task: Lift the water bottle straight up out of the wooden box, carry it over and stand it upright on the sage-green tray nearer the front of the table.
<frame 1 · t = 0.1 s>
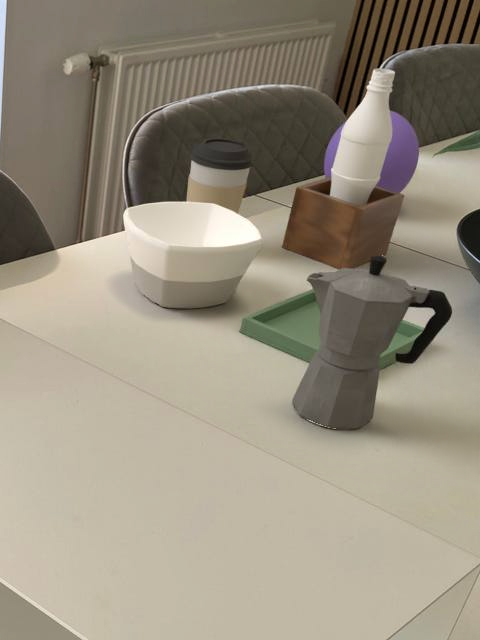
wooden box: (333, 251, 155), on the table
decorative ball: (357, 206, 173), on the table
bowl: (179, 292, 140), on the table
coffee cup: (204, 247, 153), on the table
water bottle: (333, 252, 155), resting in wooden box
tray: (333, 338, 131), on the table
coffeepot: (340, 414, 115), on the table
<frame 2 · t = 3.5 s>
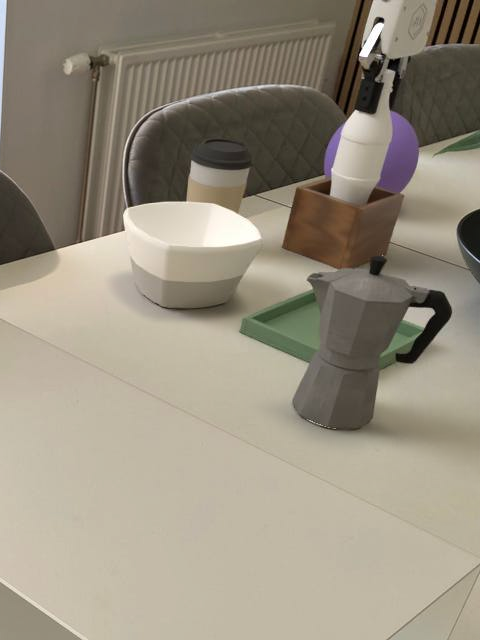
hand: (373, 108, 142), 20 cm above the table, tool pointing down, fingers closed on water bottle, 3 cm apart
water bottle: (333, 252, 155), resting in wooden box, touching gripper
everything else where it was.
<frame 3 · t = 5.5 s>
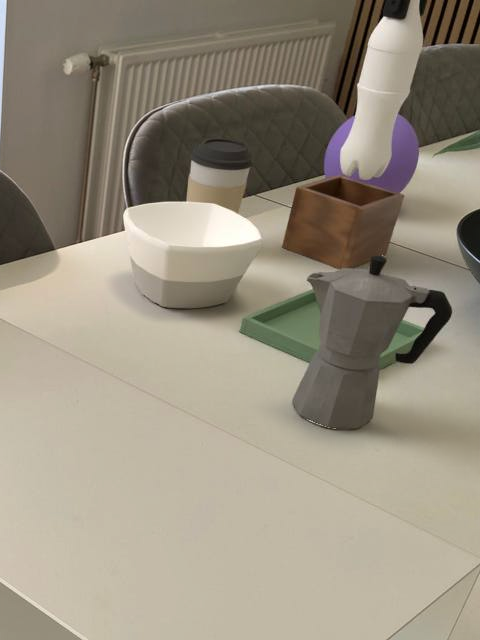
hand: (402, 14, 133), 32 cm above the table, tool pointing down, fingers closed on water bottle, 3 cm apart
water bottle: (359, 176, 147), point 11 cm above the table, touching gripper
everything else where it was.
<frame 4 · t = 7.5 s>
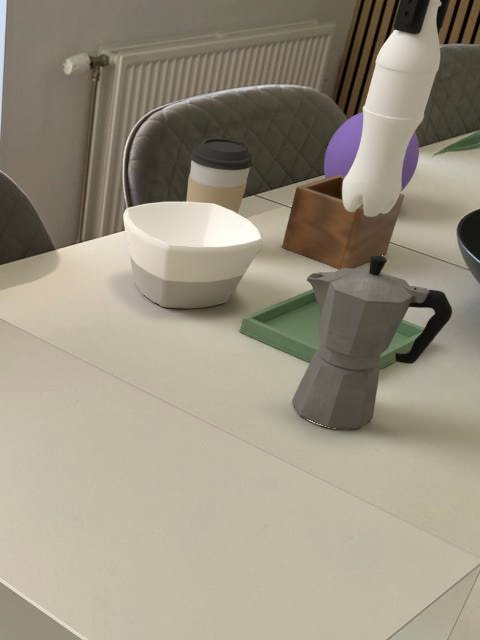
hand: (417, 28, 114), 34 cm above the table, tool pointing down, fingers closed on water bottle, 3 cm apart
water bottle: (364, 211, 127), point 14 cm above the table, touching gripper
everything else where it was.
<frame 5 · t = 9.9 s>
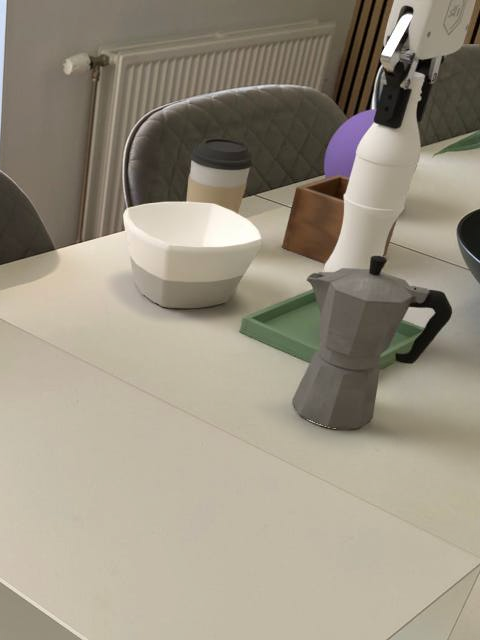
hand: (397, 121, 113), 26 cm above the table, tool pointing down, fingers closed on water bottle, 3 cm apart
water bottle: (346, 295, 127), point 6 cm above the table, touching gripper
everything else where it was.
when the fingers open (21 cm above the table, at t = 11.6 s): water bottle stays where it is, resting on tray.
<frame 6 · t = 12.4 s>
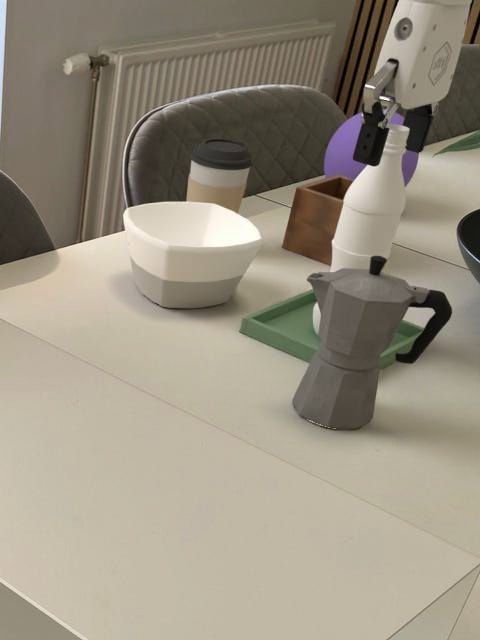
hand: (387, 156, 116), 22 cm above the table, tool pointing down, fingers open, 9 cm apart
water bottle: (334, 335, 131), resting on tray
everything else where it was.
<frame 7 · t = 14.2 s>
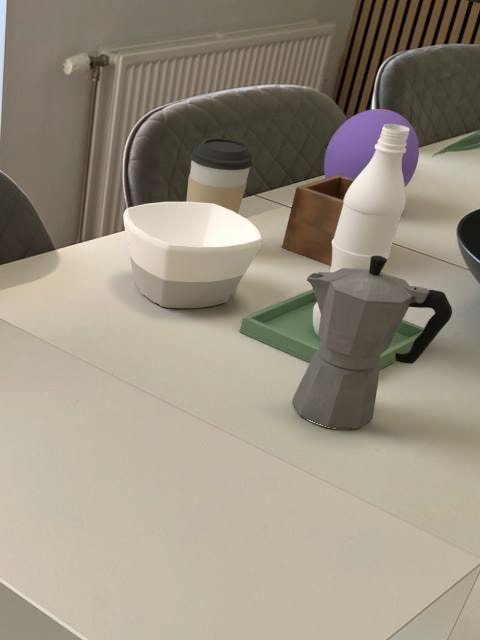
nothing on the table moved.
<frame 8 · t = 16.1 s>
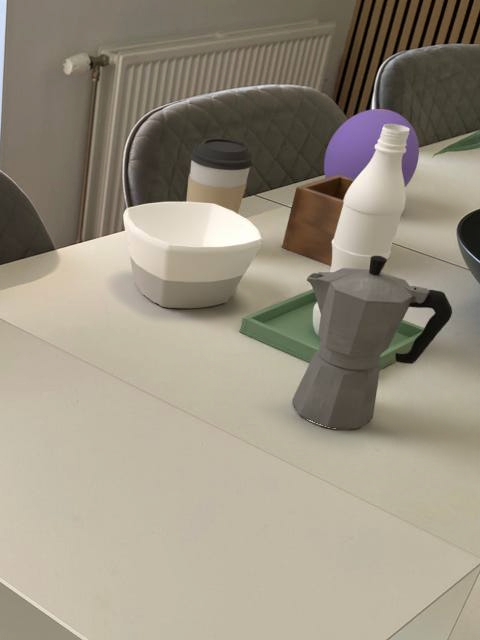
nothing on the table moved.
at the end: water bottle inside the target area in the tray (0.2 cm from its centre), point 0.3 cm above the tray's base; water bottle tilted 0°; water bottle touching tray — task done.
